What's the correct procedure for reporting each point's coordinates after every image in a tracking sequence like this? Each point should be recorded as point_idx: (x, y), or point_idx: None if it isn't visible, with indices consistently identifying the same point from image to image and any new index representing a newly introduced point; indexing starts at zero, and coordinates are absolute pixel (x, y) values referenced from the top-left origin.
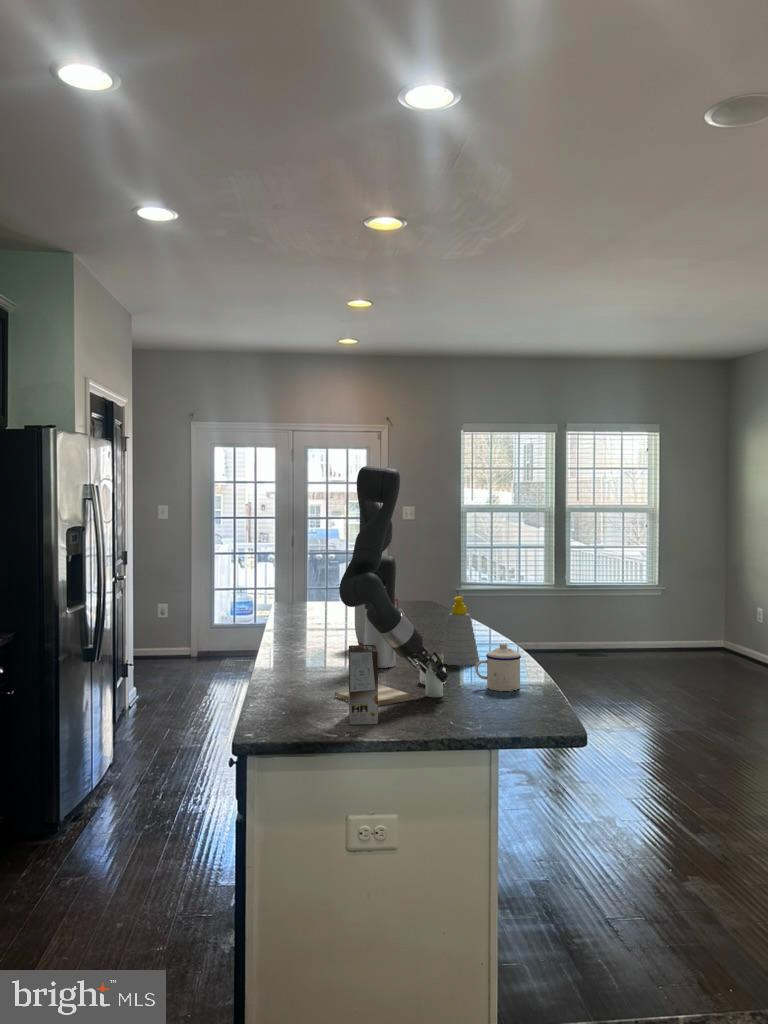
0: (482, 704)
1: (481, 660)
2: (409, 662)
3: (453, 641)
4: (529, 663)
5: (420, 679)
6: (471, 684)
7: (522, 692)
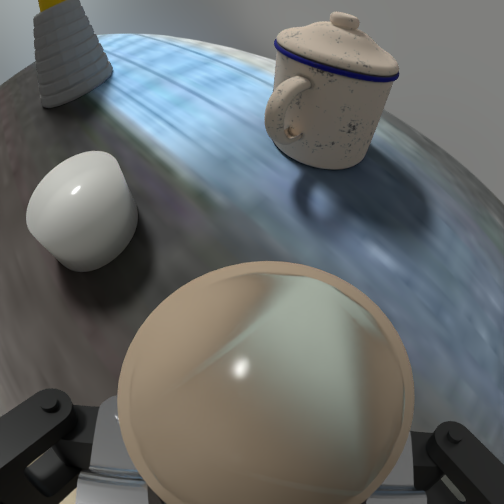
0: (458, 329)
1: (287, 81)
2: (46, 479)
3: (58, 56)
4: (189, 39)
5: (55, 257)
6: (214, 156)
7: (382, 147)
